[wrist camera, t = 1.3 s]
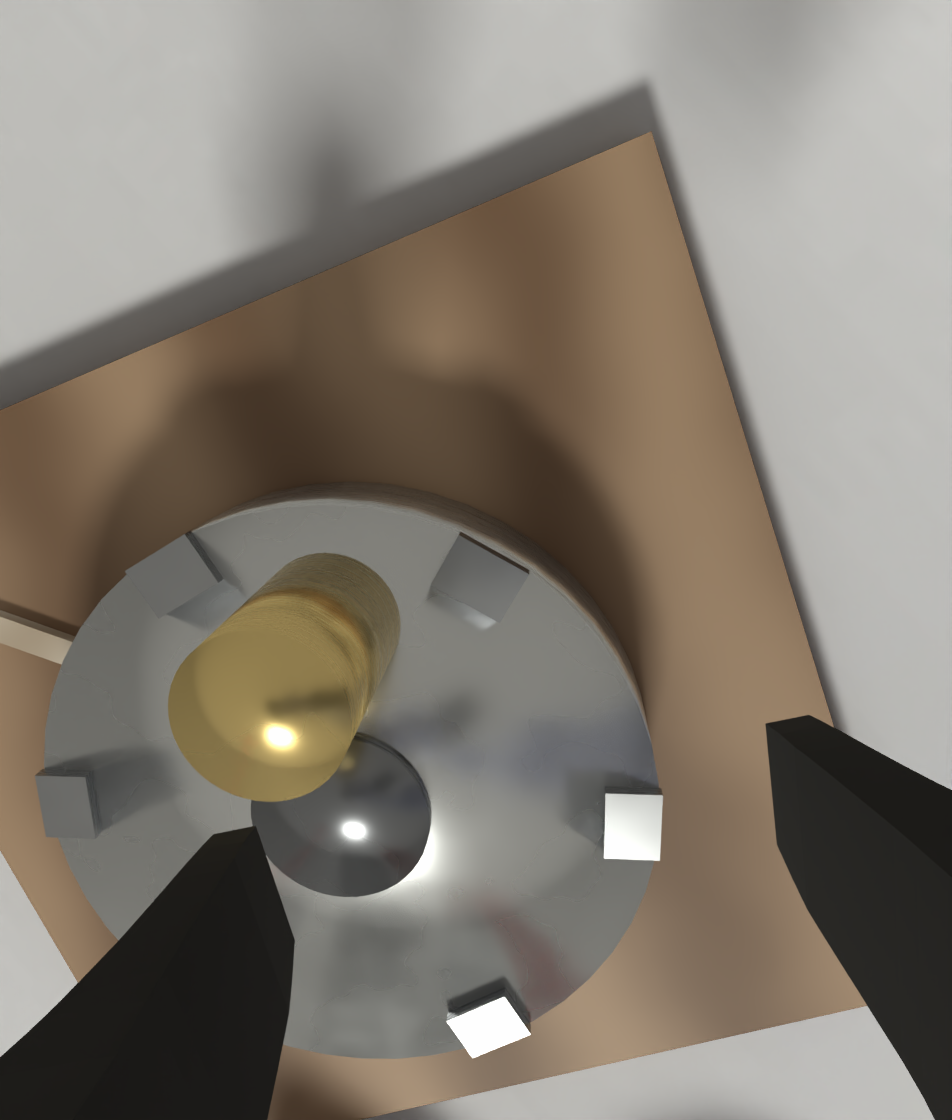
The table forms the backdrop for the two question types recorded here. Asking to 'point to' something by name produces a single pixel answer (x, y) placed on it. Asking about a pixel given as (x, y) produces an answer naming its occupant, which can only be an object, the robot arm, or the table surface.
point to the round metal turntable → (368, 758)
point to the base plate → (509, 495)
